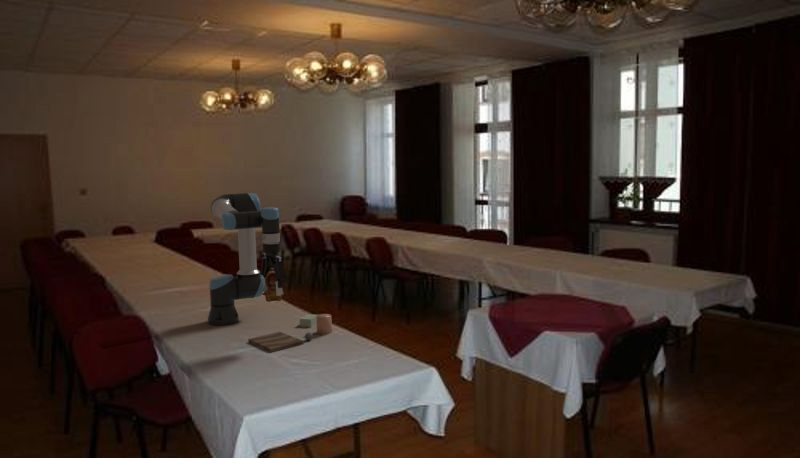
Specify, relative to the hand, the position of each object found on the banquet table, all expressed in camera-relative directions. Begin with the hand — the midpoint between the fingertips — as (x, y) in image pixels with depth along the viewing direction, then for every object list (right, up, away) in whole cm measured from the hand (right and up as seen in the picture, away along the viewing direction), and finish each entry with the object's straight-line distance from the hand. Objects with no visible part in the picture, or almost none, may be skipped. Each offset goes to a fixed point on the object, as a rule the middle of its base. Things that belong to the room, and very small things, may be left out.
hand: (273, 293), depth 258 cm
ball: (+15, -22, +6) cm, 27 cm away
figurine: (0, -3, 0) cm, 3 cm away
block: (+11, -19, +32) cm, 39 cm away
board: (0, -22, +3) cm, 23 cm away
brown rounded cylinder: (+20, -20, +18) cm, 34 cm away
